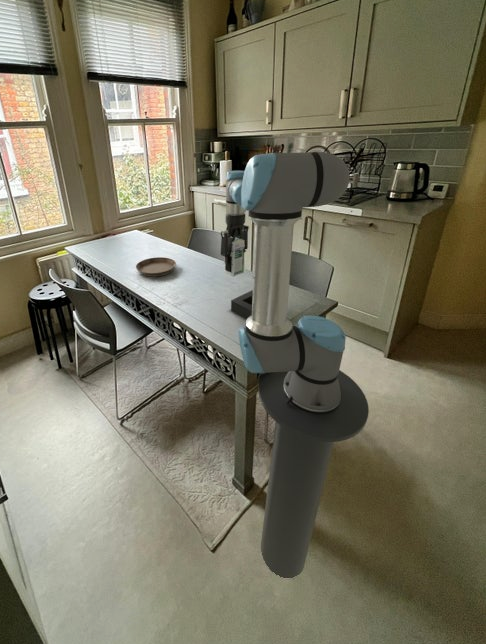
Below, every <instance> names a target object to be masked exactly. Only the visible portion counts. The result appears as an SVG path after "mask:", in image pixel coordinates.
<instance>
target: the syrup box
mask: <svg viewBox="0 0 486 644" xmlns="http://www.w3.org/2000/svg"><path fill="white" fill-rule="evenodd" d="M244 246H245V245H244V240H243V239H238V238H235V240H234V241H233V242H232V250H231V255H230V256H231V257H232V267H231V272H229V271H226V270H225V256H223V257H224V264H223V265H224V268H223V269H224V270H223V271H224V273H225V274H226V275H229V276H231V277H236V276H239V275H242V274H243V273H244V268H245V252H244ZM227 254H228V253H227Z"/></svg>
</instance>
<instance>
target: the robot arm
mask: <svg viewBox="0 0 486 644" xmlns="http://www.w3.org/2000/svg"><path fill="white" fill-rule="evenodd" d="M350 177H351V176H350V171H349V167H348V165H347V164H346V162H344V160H343V159H342V158H340V157H339V156H337V155H335V154H333V153H331V152H327V151H304V152H301V151H300V152H271V153H262V154H261V153H260V154H256V155H254V156H252V157H251V158H250V159H249V160H248V162H247V163H246V166H245V169H244V170H230V171H228V172H226V178H225V213H226V214H225V224H226V228H225V230H224V231H223V230H222V231H220V237H221V239H220V240H221V241H220V256H222V257H225V258H224V259H225V261H224V262H225V270H226V271H229V272H231V267H232V257H231V256H230V255H231V250H232V242H233V241H234V240H235V238H238V239H243V240H244V253H246V252H247V250H248V248H249V247H248V246H249V245H248V244H249V241H248V240H249V229H250V226H249V225H245V223H246V211H248V215H247V216H248V219H250V220H251V222H253V224H254V241H253V267H252V268H253V270H252V290H253V296H252V315H251V316H250V317H248V318H247V320H246V319H245V327H241V328H239V329H238V343H239V347H240V352H241V353H240V354H241V358H242V361H243V364H244V367H245V369H246V370H247V371H248V372H249V373H251V374H262V373H263V374H265V373H270V372H286V371H289V372H288V373H287V375H286V377H285V379H284V384H283V390H284V393H285V395H286V397H287V401H286V403H287V404H289V403H290V402H291V403H292V404H293V405H295V406H296V407H298V408H299V409H301V410H303V411H306V412H309V413H314V414H327V413H330V412H332V411H334V410H335V409H337V407H338V406H339V404H340V400H341V391H340V386H339V381H338V373H339V370H340V369H341V364H342V360H343V355H344V351H345V350H346V339H347V337H346V333H345V331H344V329H343V328H342V327H341V326H340V325H339V324H337V323H336V322H335V321H333V320H331V319H328V318H326V317H323V316H319V315H304V316H302V317H301V318H299V320H298V322H297V324H295V325H293V323H292V321H291V320H290V319H289V318H288V307H289V295H290V293H289V292H290V279H291V267H292V266H291V265H292V253H293V252H292V251H293V242H294V241H293V239H294V226H295V224H297V222H298V221H299V220H301V219H302V215H303V209H304V208H314V207H315V208H317V207H322V206H327V205H329V204H332V203H334V202H335V201H337V200H338V199H340V198H341V197H342V196H343V195H344V194H345V193H346V191H347V189H348V187H349V184H350V179H351V178H350ZM227 253H228V254H227Z"/></svg>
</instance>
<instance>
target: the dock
mask: <svg viewBox="0 0 486 644" xmlns="http://www.w3.org/2000/svg"><path fill="white" fill-rule="evenodd" d="M252 296H253V289H251V290H250V291H247V292H246V293H243V294H241V295H239V296H237V297H235V298H233V299H231V301H230V312H232V313H234V314H236V315H237V316H240V317H241V318H243V319H245V321H246V320H247V318H248V317H250V316H251V315H252Z"/></svg>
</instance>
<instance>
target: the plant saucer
mask: <svg viewBox="0 0 486 644" xmlns="http://www.w3.org/2000/svg"><path fill="white" fill-rule="evenodd" d="M176 266H177V263H176V261H175V260H174V259H172V258H169V257H161V256H159V257H150V258H146V259H143V260H141V261H138V262H137V263H136V265H135V269H136V270H137V271H138V273H140V274H142V275H143V276H146V277H160V276H165V275H168V274H169V273H171V272H172V271H173V270H174V269H175V267H176Z"/></svg>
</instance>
